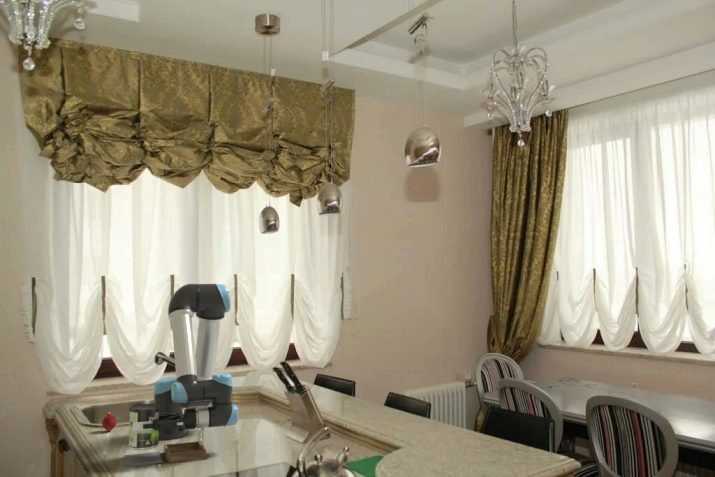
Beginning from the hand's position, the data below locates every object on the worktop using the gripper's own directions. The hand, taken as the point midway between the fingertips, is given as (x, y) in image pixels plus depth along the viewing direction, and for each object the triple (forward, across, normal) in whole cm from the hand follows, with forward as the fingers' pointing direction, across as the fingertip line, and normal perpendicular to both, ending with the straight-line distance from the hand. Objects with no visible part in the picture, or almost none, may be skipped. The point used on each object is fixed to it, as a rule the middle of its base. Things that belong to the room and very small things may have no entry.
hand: (131, 423), depth 217 cm
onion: (+6, +47, -13) cm, 49 cm away
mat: (-4, 0, -13) cm, 14 cm away
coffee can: (-4, 0, -9) cm, 10 cm away
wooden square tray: (-19, 0, -13) cm, 23 cm away
